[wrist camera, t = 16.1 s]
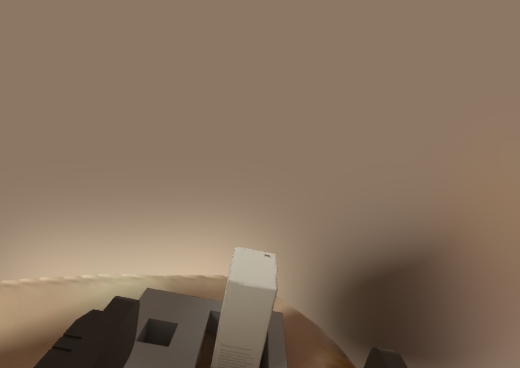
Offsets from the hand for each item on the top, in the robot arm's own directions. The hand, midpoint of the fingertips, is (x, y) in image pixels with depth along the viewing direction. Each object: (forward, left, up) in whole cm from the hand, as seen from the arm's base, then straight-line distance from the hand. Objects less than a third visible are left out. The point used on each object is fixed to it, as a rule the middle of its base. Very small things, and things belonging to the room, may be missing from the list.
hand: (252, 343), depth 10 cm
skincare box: (-3, +14, -18) cm, 23 cm away
